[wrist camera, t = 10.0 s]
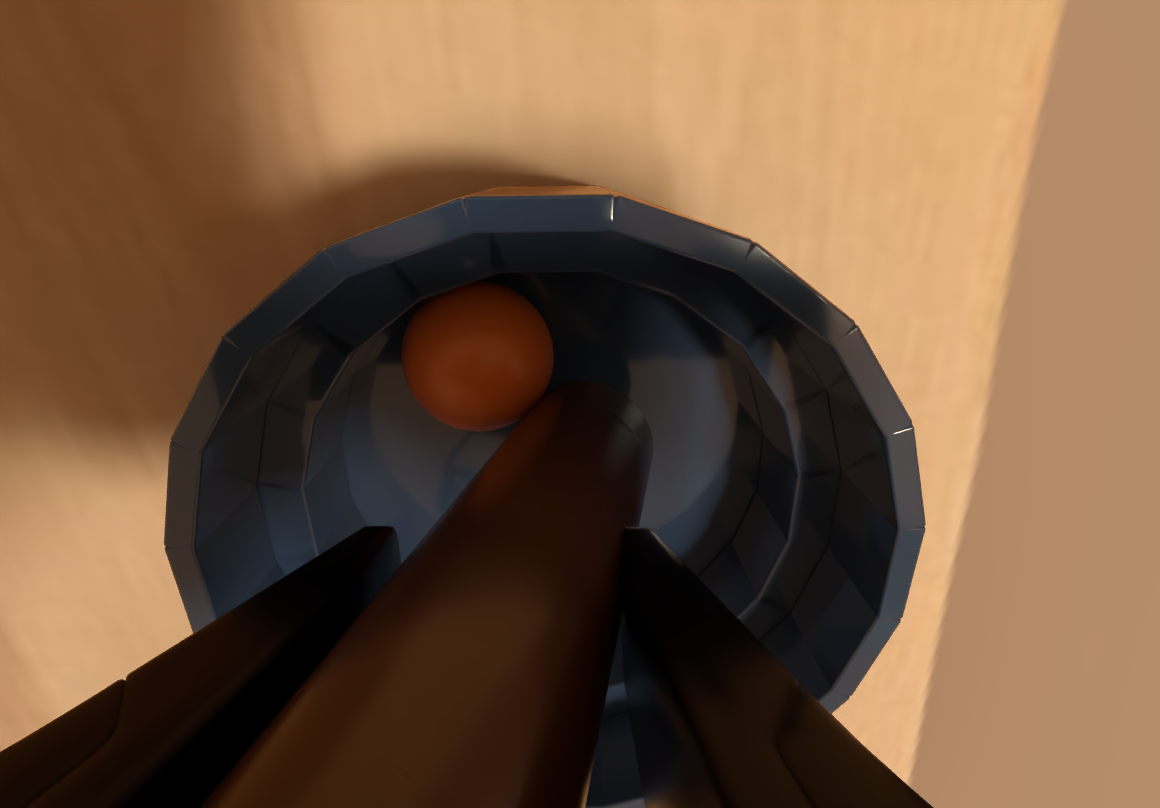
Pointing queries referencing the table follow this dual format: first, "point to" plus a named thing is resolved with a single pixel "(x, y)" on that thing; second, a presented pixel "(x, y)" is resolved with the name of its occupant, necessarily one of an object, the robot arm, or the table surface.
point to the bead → (477, 356)
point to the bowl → (581, 353)
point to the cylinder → (478, 637)
